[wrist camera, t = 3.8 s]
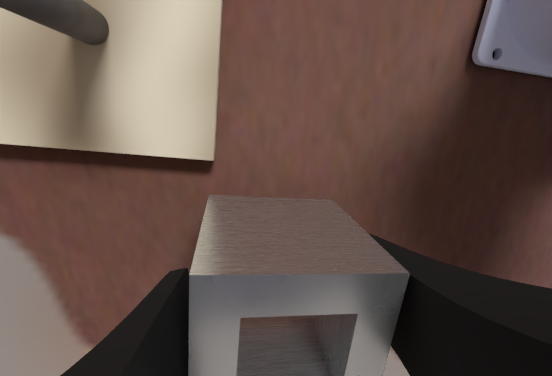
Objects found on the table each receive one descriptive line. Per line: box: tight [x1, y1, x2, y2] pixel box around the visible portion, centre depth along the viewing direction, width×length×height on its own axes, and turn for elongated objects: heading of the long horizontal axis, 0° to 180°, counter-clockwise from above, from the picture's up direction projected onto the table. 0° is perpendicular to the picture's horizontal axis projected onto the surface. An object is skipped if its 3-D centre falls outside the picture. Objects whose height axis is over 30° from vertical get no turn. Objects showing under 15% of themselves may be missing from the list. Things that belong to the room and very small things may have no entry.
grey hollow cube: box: [188, 195, 410, 376], centre depth 9 cm, size 5×5×5 cm
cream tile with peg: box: [0, 0, 223, 161], centre depth 8 cm, size 9×9×5 cm
